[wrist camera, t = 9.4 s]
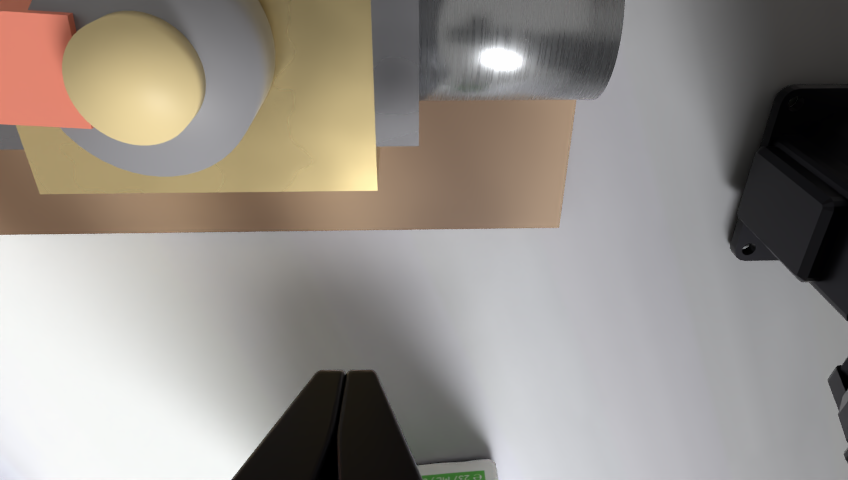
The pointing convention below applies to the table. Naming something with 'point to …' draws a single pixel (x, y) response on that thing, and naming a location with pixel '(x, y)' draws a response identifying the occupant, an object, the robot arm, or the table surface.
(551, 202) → the board
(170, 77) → the lever
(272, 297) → the table surface
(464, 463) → the skincare box
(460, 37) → the valve
